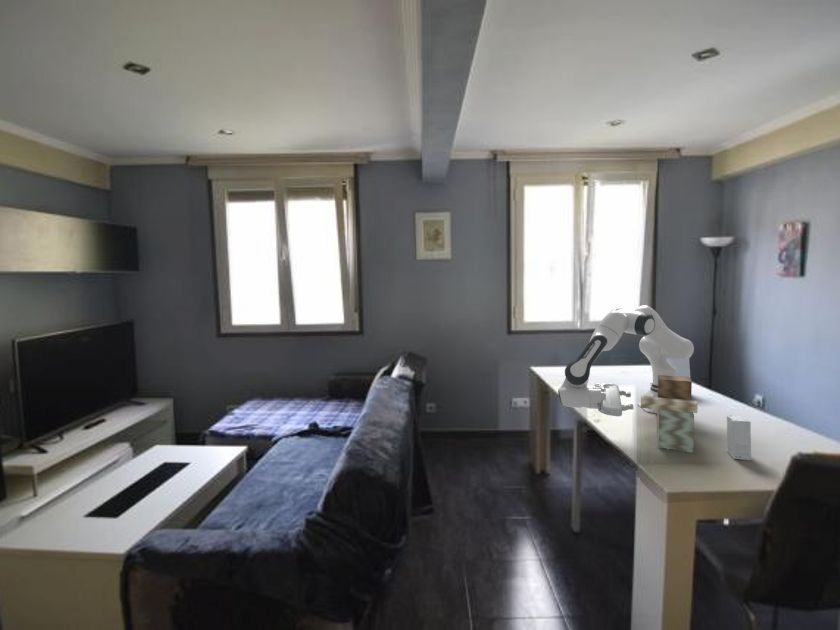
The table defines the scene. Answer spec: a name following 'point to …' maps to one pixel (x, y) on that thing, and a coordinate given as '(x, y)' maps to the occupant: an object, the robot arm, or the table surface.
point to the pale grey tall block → (681, 366)
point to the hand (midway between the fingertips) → (632, 400)
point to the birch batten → (669, 404)
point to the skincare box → (739, 437)
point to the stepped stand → (675, 415)
